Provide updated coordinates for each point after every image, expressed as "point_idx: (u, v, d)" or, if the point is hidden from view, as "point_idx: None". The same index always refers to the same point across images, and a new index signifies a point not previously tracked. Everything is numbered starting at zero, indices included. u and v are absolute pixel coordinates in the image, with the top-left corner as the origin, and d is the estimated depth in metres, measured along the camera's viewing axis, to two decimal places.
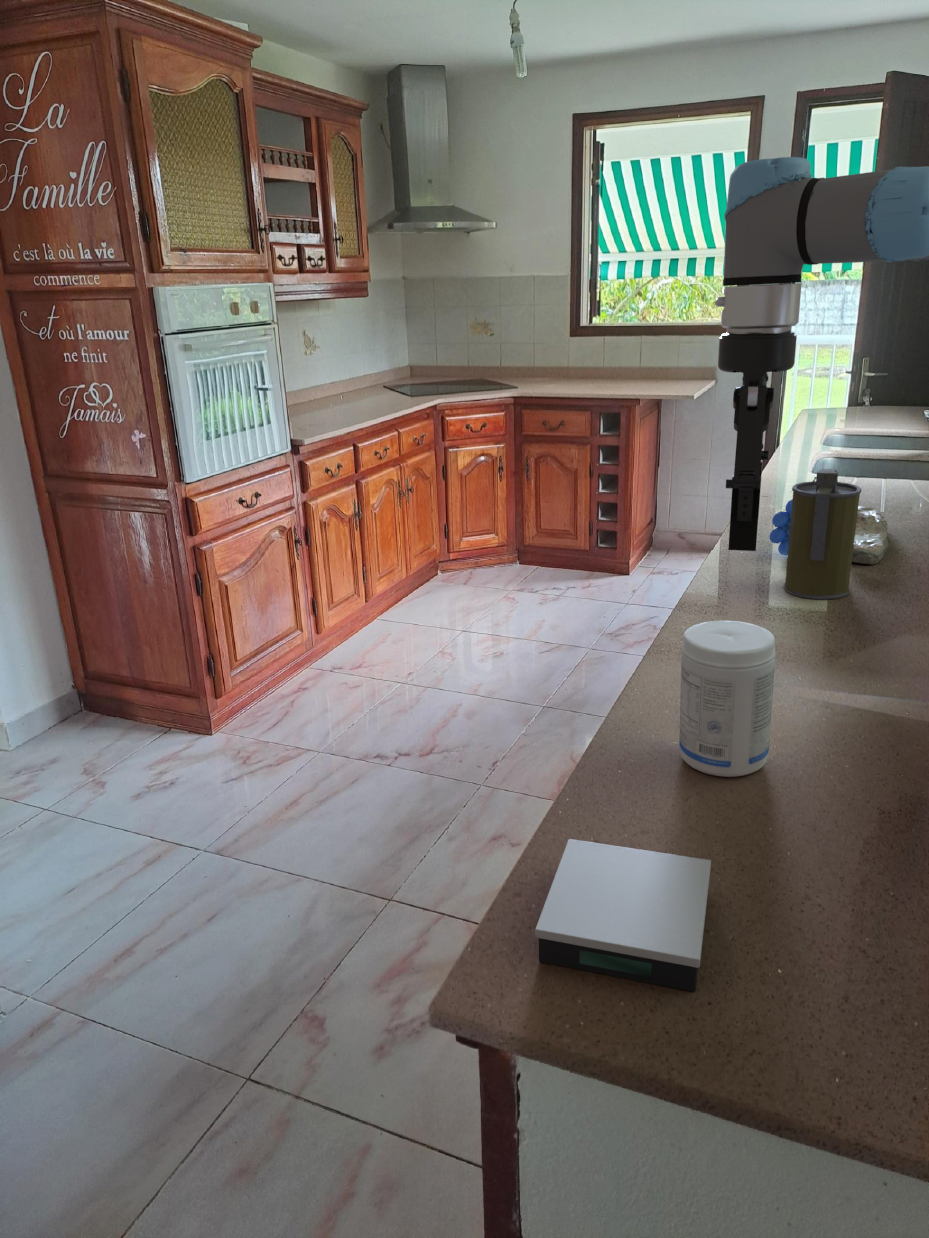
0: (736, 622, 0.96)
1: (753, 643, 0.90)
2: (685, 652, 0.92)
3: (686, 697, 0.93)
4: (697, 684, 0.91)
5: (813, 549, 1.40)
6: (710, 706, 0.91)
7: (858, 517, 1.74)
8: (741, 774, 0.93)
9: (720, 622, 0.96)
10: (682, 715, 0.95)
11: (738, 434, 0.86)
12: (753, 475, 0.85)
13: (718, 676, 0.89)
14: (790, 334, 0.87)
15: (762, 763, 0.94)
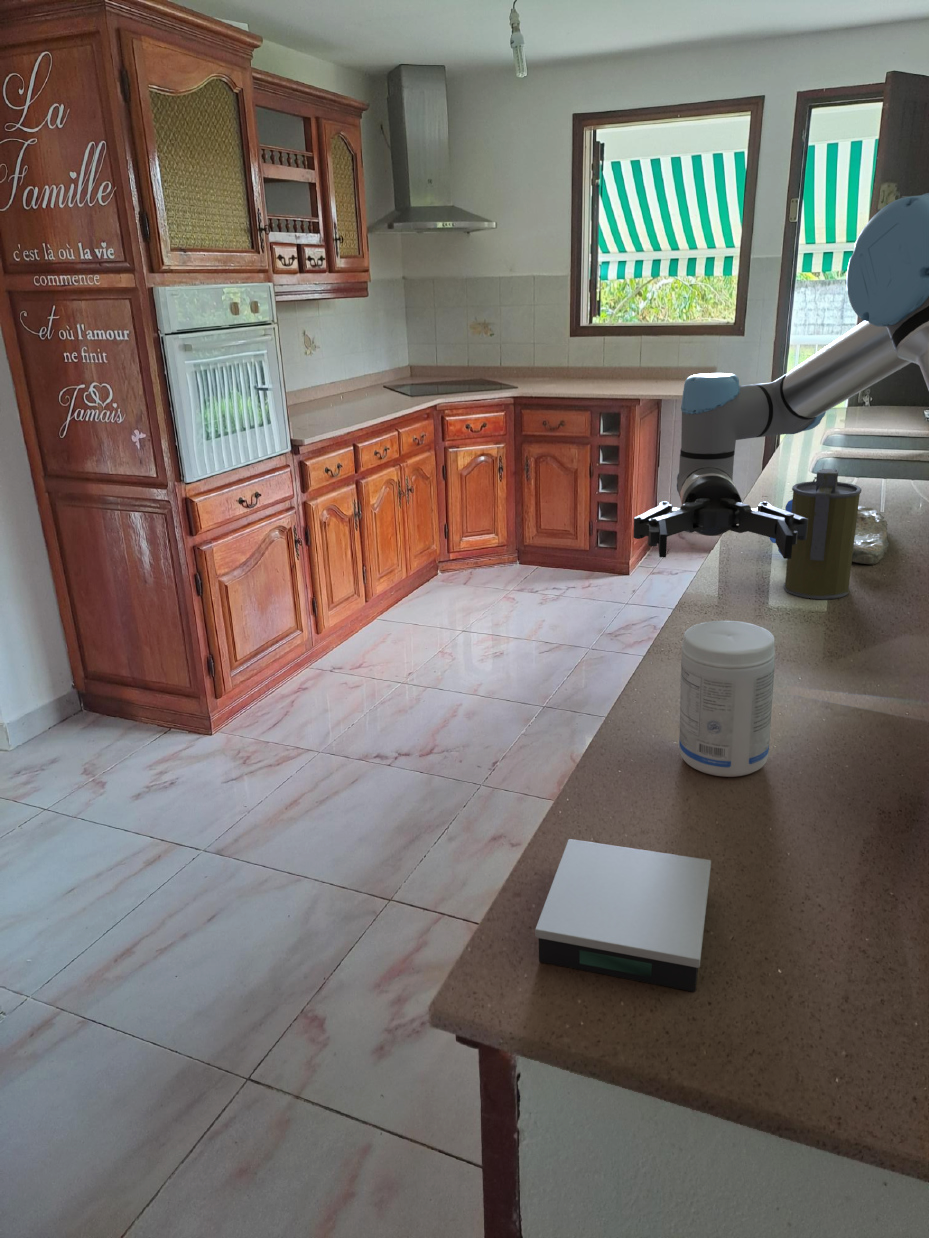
0: (736, 622, 0.96)
1: (753, 643, 0.90)
2: (685, 652, 0.92)
3: (686, 697, 0.93)
4: (697, 684, 0.91)
5: (813, 548, 1.40)
6: (709, 706, 0.91)
7: (858, 517, 1.74)
8: (741, 774, 0.93)
9: (720, 622, 0.96)
10: (682, 715, 0.95)
11: None
12: None
13: (718, 676, 0.89)
14: (698, 480, 1.17)
15: (762, 763, 0.94)
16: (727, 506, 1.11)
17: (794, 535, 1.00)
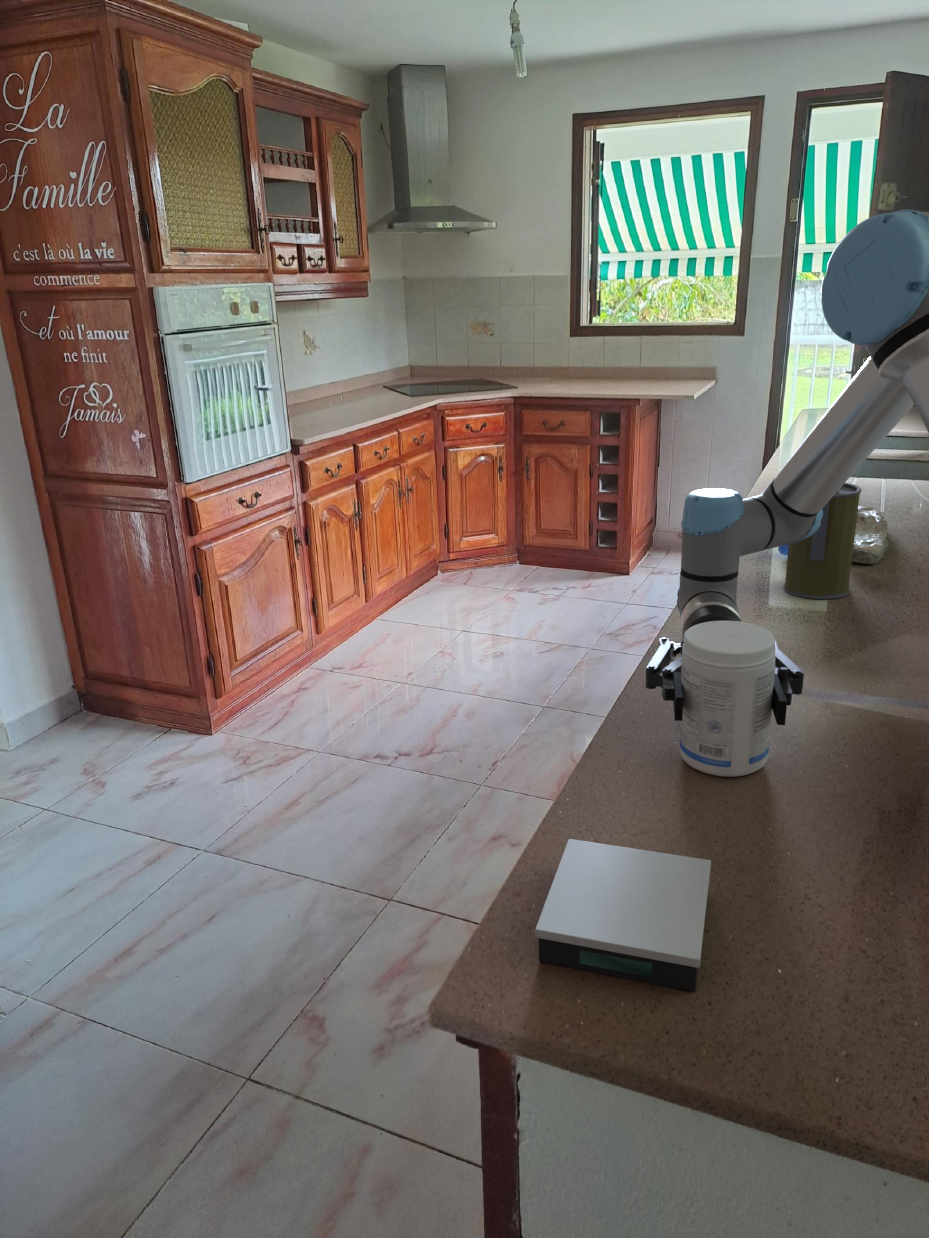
0: (736, 622, 0.96)
1: (753, 643, 0.90)
2: (686, 652, 0.92)
3: (686, 697, 0.93)
4: (697, 684, 0.91)
5: (813, 548, 1.40)
6: (710, 706, 0.91)
7: (858, 517, 1.74)
8: (741, 774, 0.93)
9: (720, 622, 0.96)
10: None
11: None
12: None
13: (718, 676, 0.89)
14: None
15: (762, 763, 0.94)
16: None
17: (788, 695, 0.92)
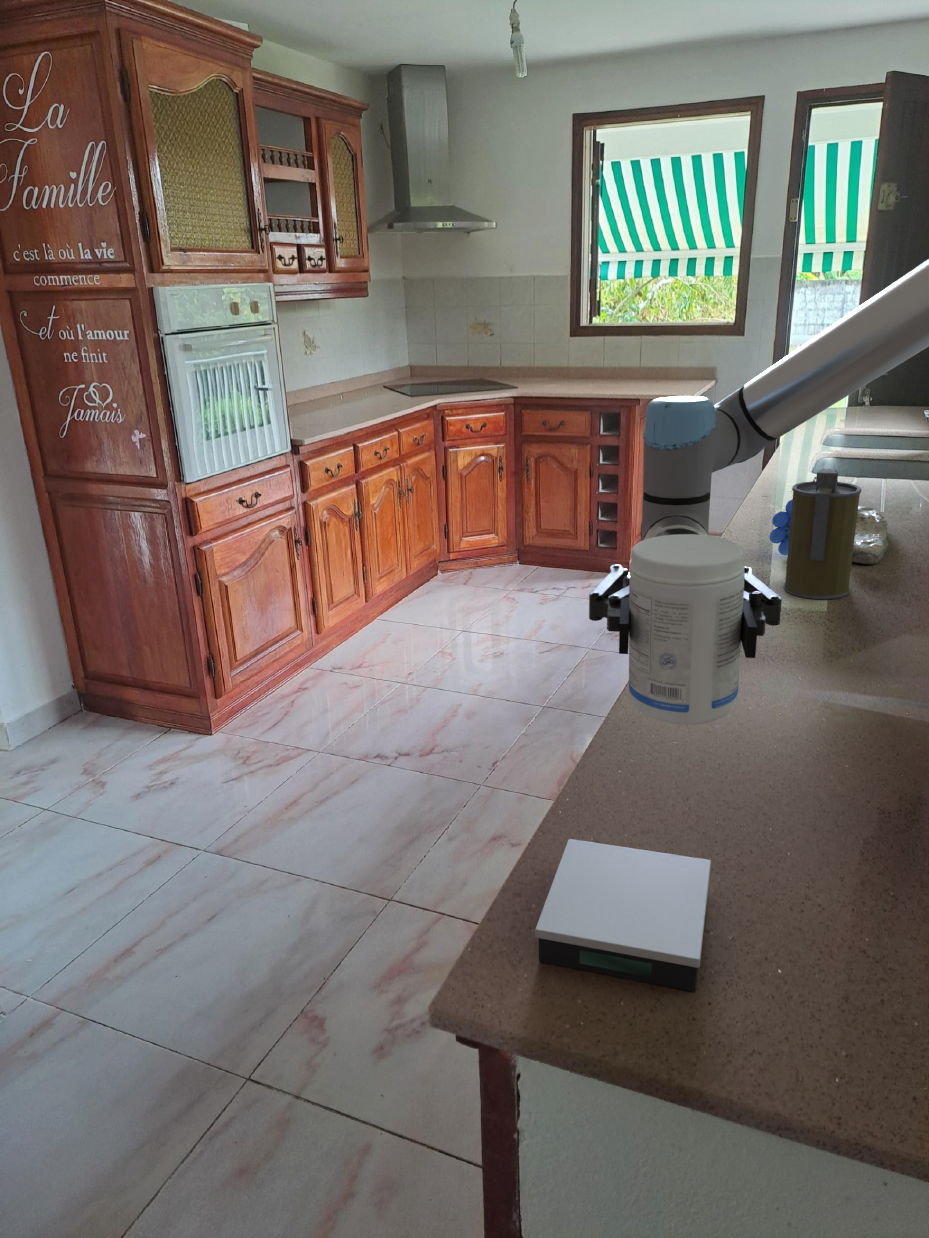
0: (698, 535, 0.77)
1: (716, 555, 0.72)
2: (633, 568, 0.74)
3: (635, 625, 0.75)
4: (647, 608, 0.73)
5: (813, 548, 1.40)
6: (662, 635, 0.73)
7: (858, 517, 1.74)
8: (702, 721, 0.75)
9: (679, 536, 0.78)
10: (631, 649, 0.77)
11: None
12: None
13: (671, 596, 0.71)
14: None
15: (729, 708, 0.76)
16: None
17: (761, 623, 0.74)
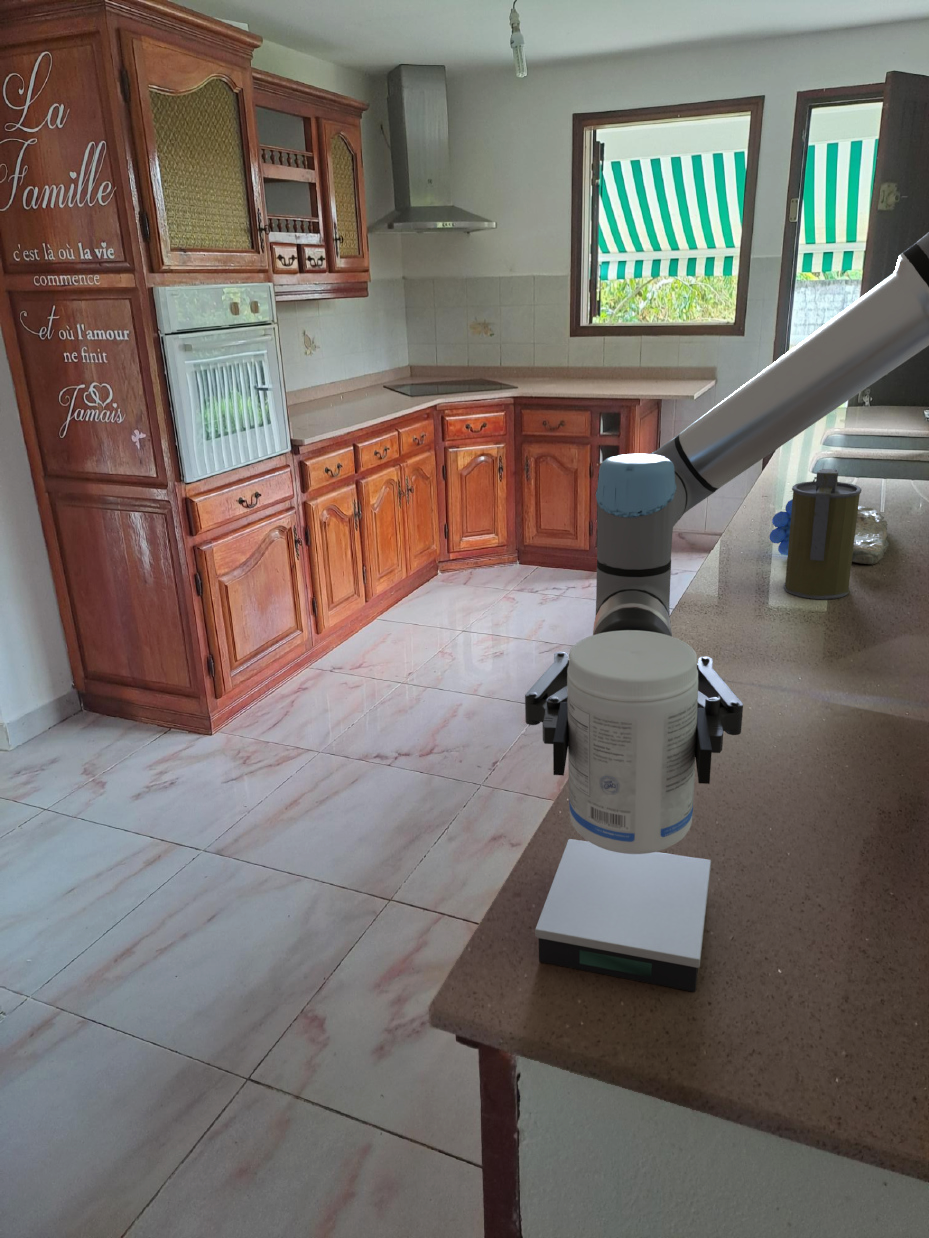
0: (647, 633, 0.67)
1: (664, 665, 0.62)
2: (570, 676, 0.64)
3: (573, 740, 0.65)
4: (585, 724, 0.63)
5: (813, 548, 1.40)
6: (602, 755, 0.63)
7: (858, 517, 1.74)
8: (650, 851, 0.65)
9: (625, 632, 0.68)
10: (569, 765, 0.67)
11: None
12: None
13: (612, 713, 0.61)
14: None
15: (681, 834, 0.66)
16: None
17: (717, 739, 0.64)
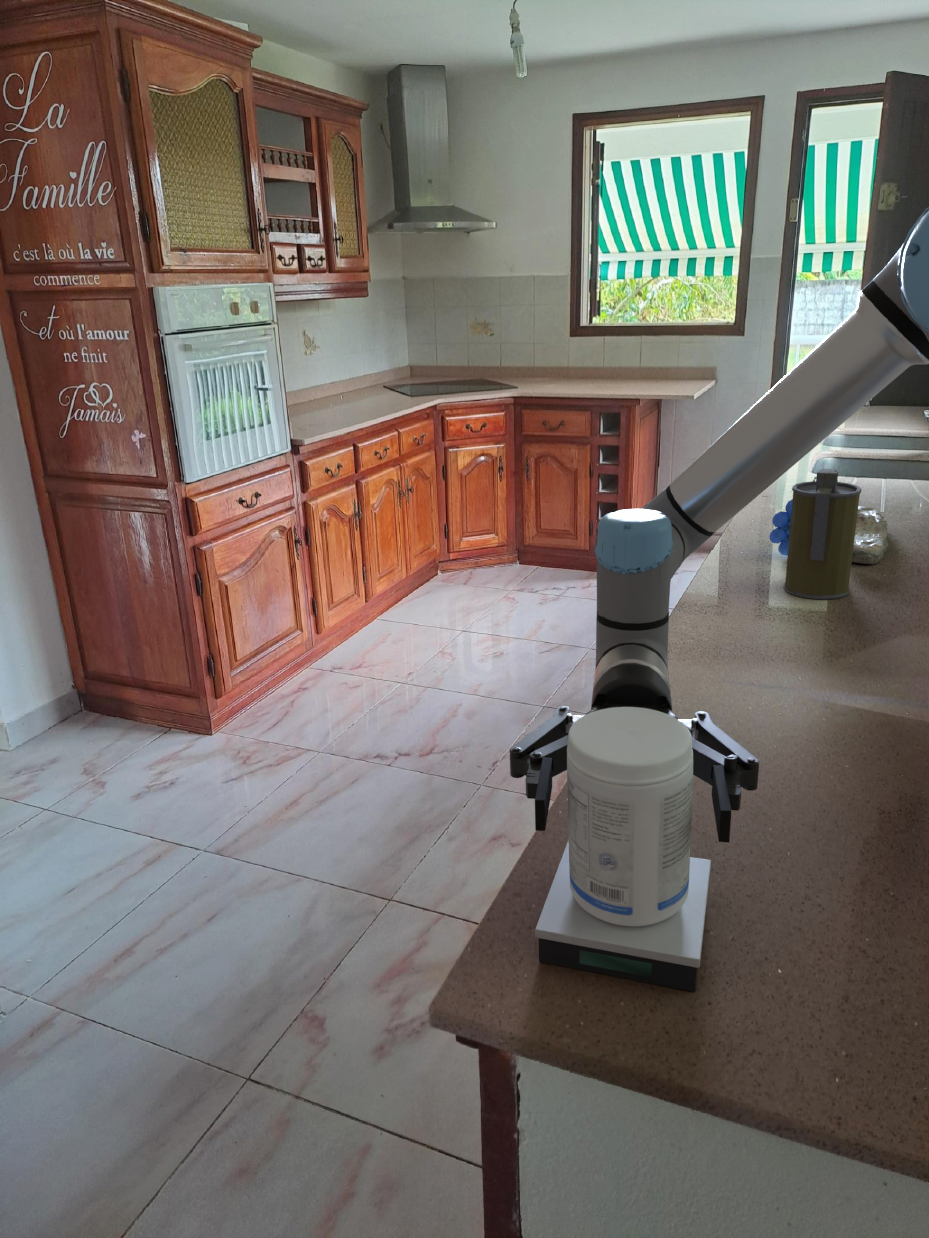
0: (644, 710, 0.70)
1: (660, 748, 0.64)
2: (569, 756, 0.66)
3: (572, 816, 0.67)
4: (584, 803, 0.65)
5: (813, 548, 1.40)
6: (601, 834, 0.65)
7: (858, 517, 1.74)
8: (648, 924, 0.67)
9: (623, 709, 0.70)
10: (569, 838, 0.69)
11: None
12: None
13: (610, 795, 0.63)
14: None
15: (678, 907, 0.68)
16: None
17: (736, 797, 0.67)
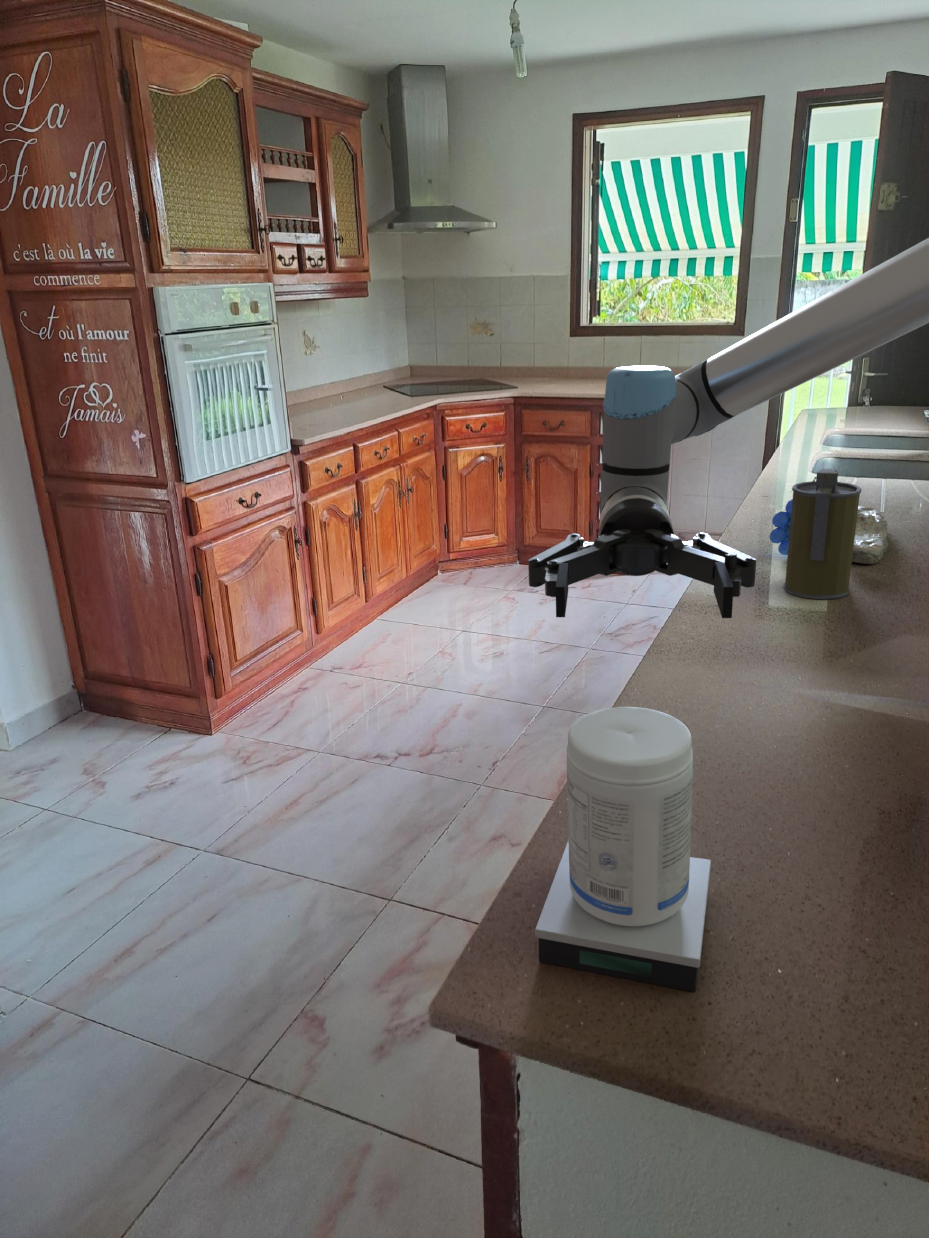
0: (644, 710, 0.70)
1: (660, 747, 0.64)
2: (569, 756, 0.66)
3: (572, 816, 0.67)
4: (584, 803, 0.65)
5: (813, 548, 1.40)
6: (601, 833, 0.65)
7: (858, 517, 1.74)
8: (648, 923, 0.67)
9: (622, 709, 0.70)
10: (569, 838, 0.69)
11: None
12: None
13: (610, 795, 0.63)
14: None
15: (678, 906, 0.68)
16: (653, 540, 0.85)
17: (736, 584, 0.74)
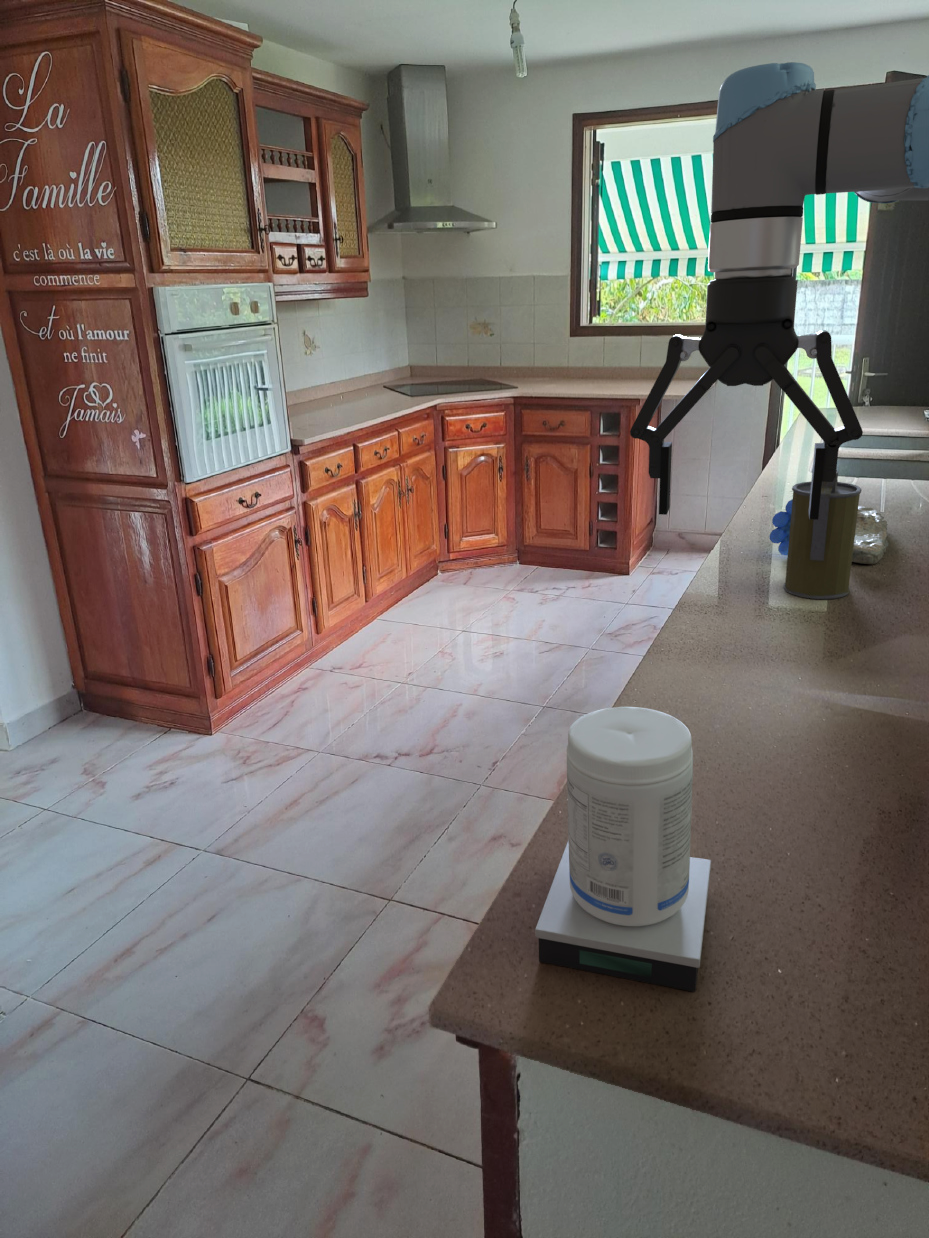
0: (644, 710, 0.70)
1: (660, 747, 0.64)
2: (569, 756, 0.66)
3: (572, 816, 0.67)
4: (584, 803, 0.65)
5: (813, 548, 1.40)
6: (601, 833, 0.65)
7: (858, 517, 1.74)
8: (648, 923, 0.67)
9: (622, 709, 0.70)
10: (569, 838, 0.69)
11: None
12: None
13: (610, 795, 0.63)
14: (730, 281, 0.74)
15: (678, 906, 0.68)
16: (763, 365, 0.77)
17: None
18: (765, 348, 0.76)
